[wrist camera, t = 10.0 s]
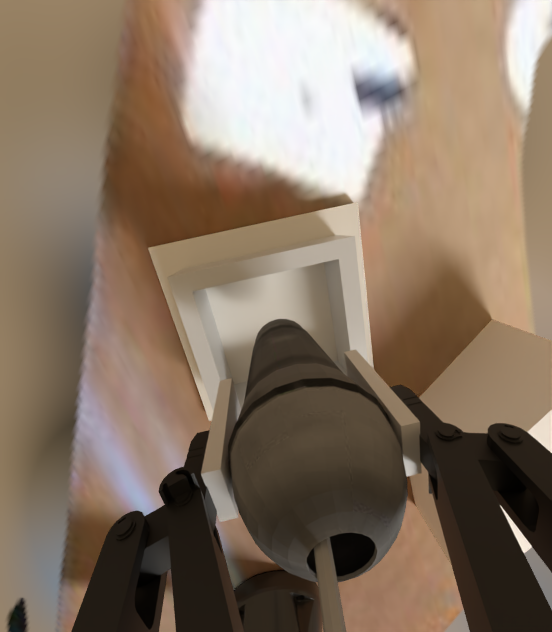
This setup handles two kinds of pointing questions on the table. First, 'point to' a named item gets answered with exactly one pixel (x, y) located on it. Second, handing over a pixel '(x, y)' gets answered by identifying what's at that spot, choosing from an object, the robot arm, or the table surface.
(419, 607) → the table surface
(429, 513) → the block
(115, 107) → the table surface
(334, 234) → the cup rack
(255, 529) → the beverage cup
